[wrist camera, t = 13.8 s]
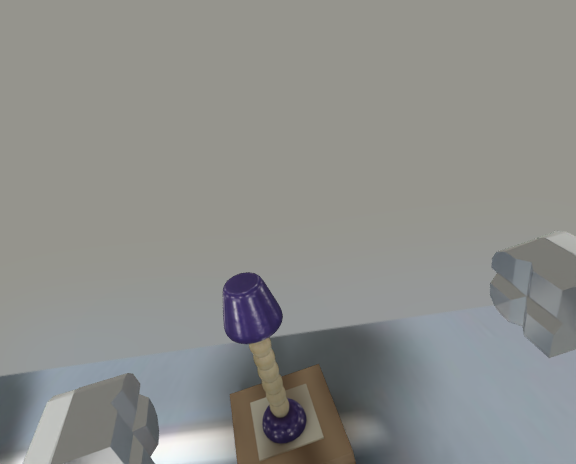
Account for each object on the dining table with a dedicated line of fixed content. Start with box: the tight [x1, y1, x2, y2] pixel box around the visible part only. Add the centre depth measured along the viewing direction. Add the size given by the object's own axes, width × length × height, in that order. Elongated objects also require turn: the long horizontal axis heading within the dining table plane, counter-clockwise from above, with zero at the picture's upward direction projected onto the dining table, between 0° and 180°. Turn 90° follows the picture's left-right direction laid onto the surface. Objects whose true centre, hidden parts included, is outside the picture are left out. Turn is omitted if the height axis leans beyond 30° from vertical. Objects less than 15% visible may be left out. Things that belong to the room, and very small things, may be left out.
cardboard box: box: [230, 364, 356, 464], centre depth 37 cm, size 10×10×5 cm
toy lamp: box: [223, 272, 307, 444], centre depth 32 cm, size 5×5×17 cm
